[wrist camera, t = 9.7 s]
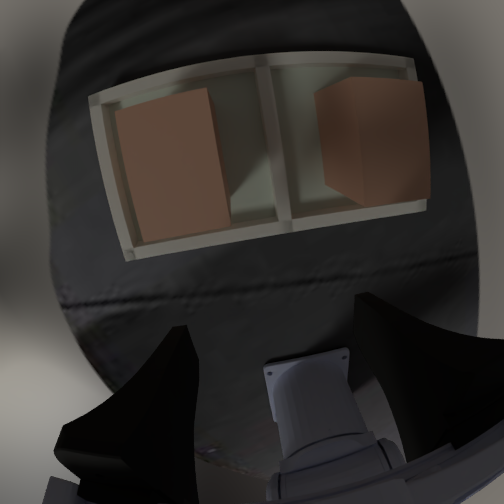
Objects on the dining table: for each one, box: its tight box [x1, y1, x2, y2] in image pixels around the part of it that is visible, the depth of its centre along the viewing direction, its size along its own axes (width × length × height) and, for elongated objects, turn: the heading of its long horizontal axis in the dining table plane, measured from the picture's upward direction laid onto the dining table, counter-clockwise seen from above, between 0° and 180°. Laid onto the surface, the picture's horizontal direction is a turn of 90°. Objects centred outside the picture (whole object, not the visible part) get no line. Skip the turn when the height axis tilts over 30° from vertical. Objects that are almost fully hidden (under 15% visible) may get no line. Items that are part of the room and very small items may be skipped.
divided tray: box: [88, 51, 426, 261], centre depth 17 cm, size 11×21×2 cm, turn 99°
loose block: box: [313, 77, 431, 207], centre depth 14 cm, size 6×4×6 cm, turn 9°
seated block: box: [115, 87, 231, 242], centre depth 14 cm, size 6×4×6 cm, turn 9°
